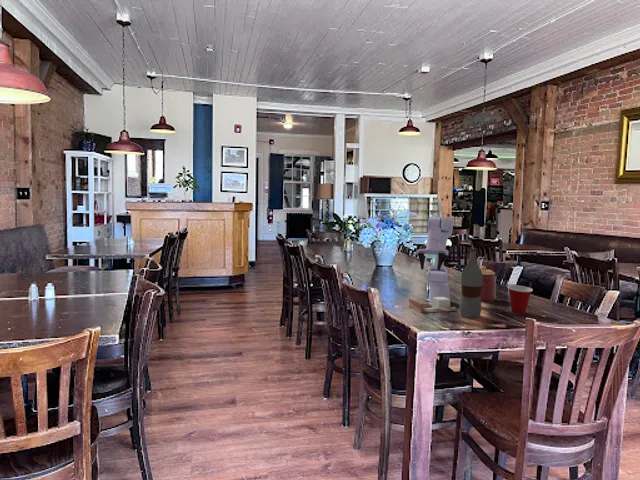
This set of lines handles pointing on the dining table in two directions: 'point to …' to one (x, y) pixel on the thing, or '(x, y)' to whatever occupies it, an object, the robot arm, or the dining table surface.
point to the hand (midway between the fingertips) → (430, 269)
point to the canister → (488, 285)
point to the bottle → (471, 288)
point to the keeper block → (440, 302)
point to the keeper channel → (420, 306)
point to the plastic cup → (519, 298)
